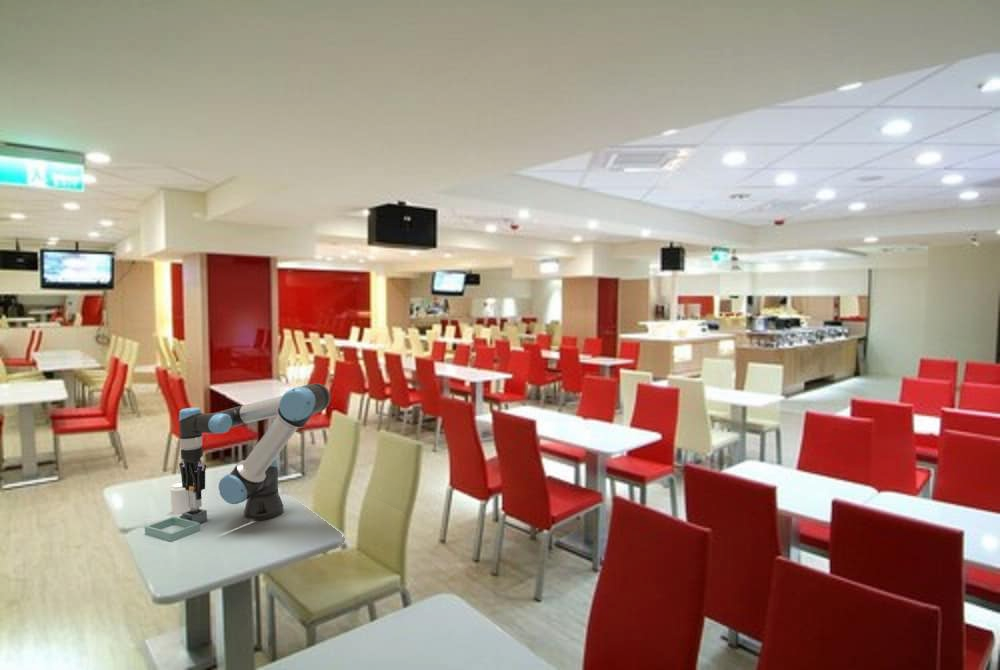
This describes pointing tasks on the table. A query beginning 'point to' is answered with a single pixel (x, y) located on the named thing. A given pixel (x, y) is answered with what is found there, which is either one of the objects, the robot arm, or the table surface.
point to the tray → (188, 529)
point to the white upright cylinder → (179, 499)
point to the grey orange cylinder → (192, 501)
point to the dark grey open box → (196, 516)
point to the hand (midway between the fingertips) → (194, 506)
